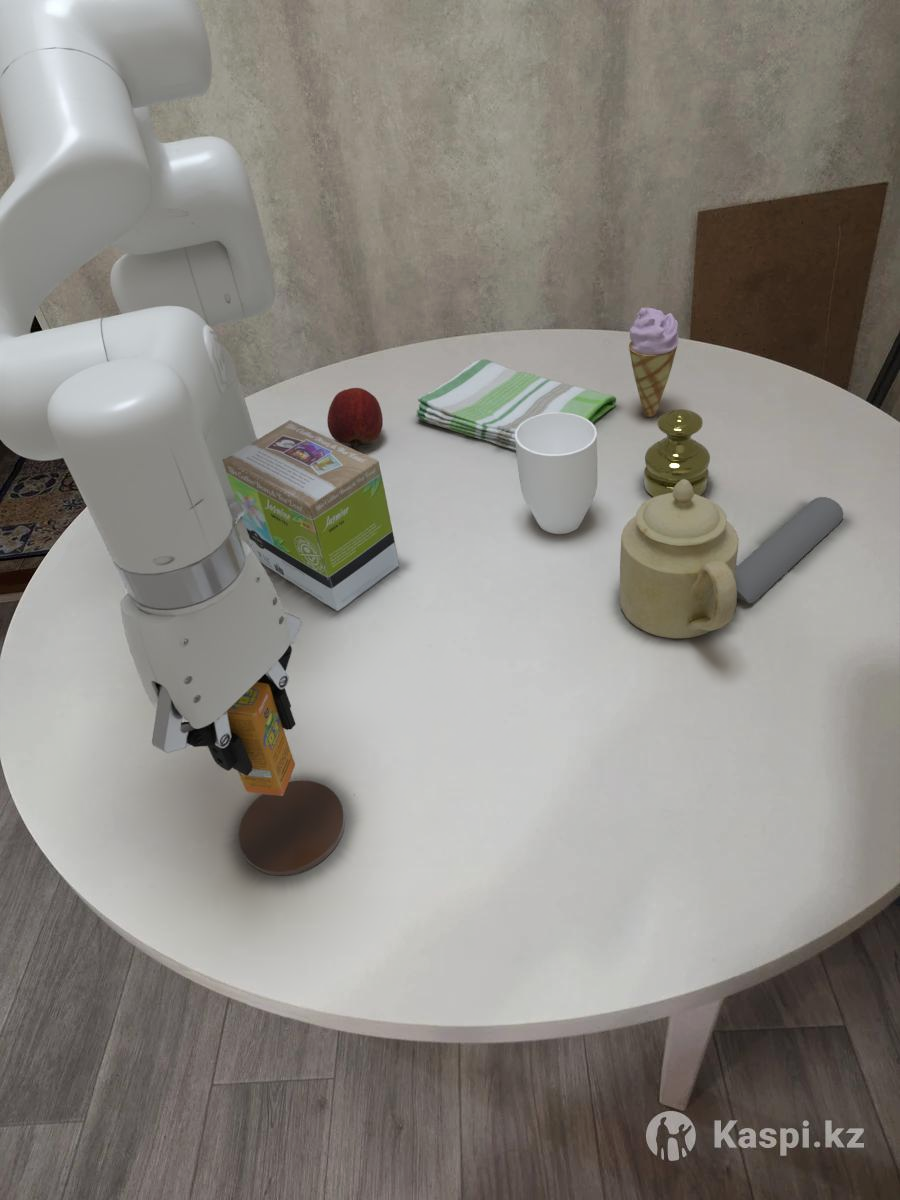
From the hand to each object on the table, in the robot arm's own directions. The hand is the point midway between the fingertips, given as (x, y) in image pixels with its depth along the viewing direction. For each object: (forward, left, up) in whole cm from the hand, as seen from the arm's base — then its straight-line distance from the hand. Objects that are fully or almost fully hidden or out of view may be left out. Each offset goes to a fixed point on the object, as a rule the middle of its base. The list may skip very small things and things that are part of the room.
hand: (257, 741), depth 66 cm
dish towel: (-17, +67, -12) cm, 70 cm away
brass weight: (+10, +59, -12) cm, 61 cm away
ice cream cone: (0, +74, -12) cm, 75 cm away
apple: (-33, +52, -12) cm, 63 cm away
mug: (0, +49, -12) cm, 50 cm away
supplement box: (0, 0, -5) cm, 5 cm away
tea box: (-20, +29, -12) cm, 37 cm away
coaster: (0, 0, -12) cm, 12 cm away
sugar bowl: (+19, +40, -12) cm, 46 cm away
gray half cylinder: (+24, +52, -12) cm, 59 cm away
